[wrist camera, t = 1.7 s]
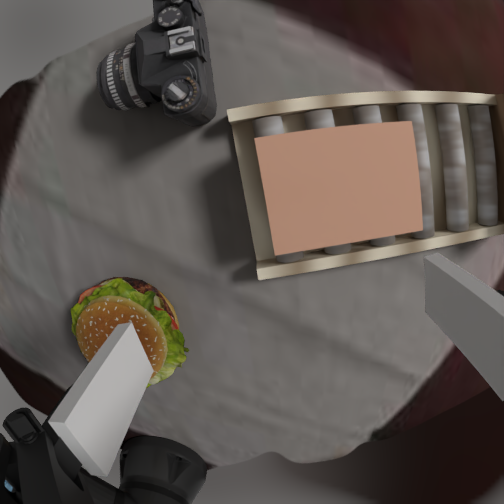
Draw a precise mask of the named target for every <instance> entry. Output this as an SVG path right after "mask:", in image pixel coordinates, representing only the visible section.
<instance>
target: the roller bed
mask: <svg viewBox="0 0 504 504" xmlns="http://www.w3.org/2000/svg"><path fill="white" fill-rule="evenodd" d="M227 114H228V119H229V122H230V124H231V126H232V131H233V136H234V142H235V147H236V153H237V158H238V163H239V169H240V174H241V179H242V185H243V190H244V196H245V201H246V206H247V212H248V217H249V223H250V228H251V233H252V239H253V244H254V250H255V255H256V260H257V268H256V269H257V275H258V280H264V279H270V278H276V277H282V276H288V275H294V274H300V273H306V272H311V271H317V270H323V269H329V268H334V267H340V266H345V265H351V264H356V263H362V262H367V261H373V260H378V259H383V258H389V257H394V256H399V255H404V254H409V253H414V252H419V251H425V250H430V249H435V248H439V247H444V246H449V245H454V244H459V243H464V242H468V241H473V240H478V239H483V238H487V237H492V236H496V235H501V234H504V94H498V95H491V94H480V93H466V92H446V91H382V92H361V93H346V94H334V95H323V96H313V97H304V98H296V99H288V100H281V101H274V102H268V103H261V104H255V105H249V106H244V107H238V108H233V109H228V110H227ZM401 121H412V125H413V132H414V138H415V145H416V153H417V161H418V169H419V179H420V190H421V203H422V219H423V230H422V231H416V232H410V233H405V234H399V235H393V236H387V237H382V238H376V239H370V240H364V241H358V242H352V243H347V244H341V245H335V246H329V247H323V248H317V249H311V250H305V251H299V252H294V253H288V254H282V255H276V256H275V253H274V247H273V241H272V235H271V229H270V224H269V218H268V212H267V206H266V200H265V195H264V189H263V183H262V178H261V172H260V167H259V161H258V156H257V150H256V145H255V139H254V138H258V137H264V136H270V135H277V134H283V133H290V132H297V131H305V130H312V129H320V128H329V127H338V126H348V125H358V124H370V123H384V122H401Z"/></svg>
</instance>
